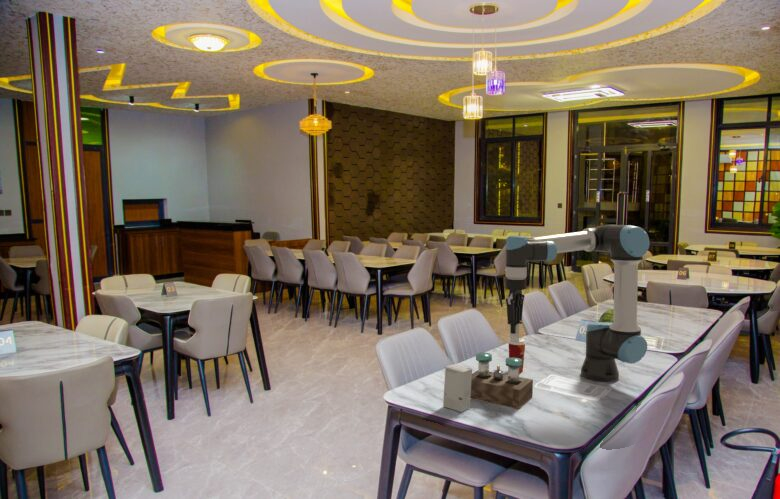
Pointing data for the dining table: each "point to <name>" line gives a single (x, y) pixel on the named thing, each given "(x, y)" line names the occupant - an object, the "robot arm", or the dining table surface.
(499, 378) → the potentiometer
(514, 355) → the paper cup
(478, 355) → the knob
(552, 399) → the dining table surface
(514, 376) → the green capped bottle
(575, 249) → the robot arm
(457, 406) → the skincare box
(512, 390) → the mount
